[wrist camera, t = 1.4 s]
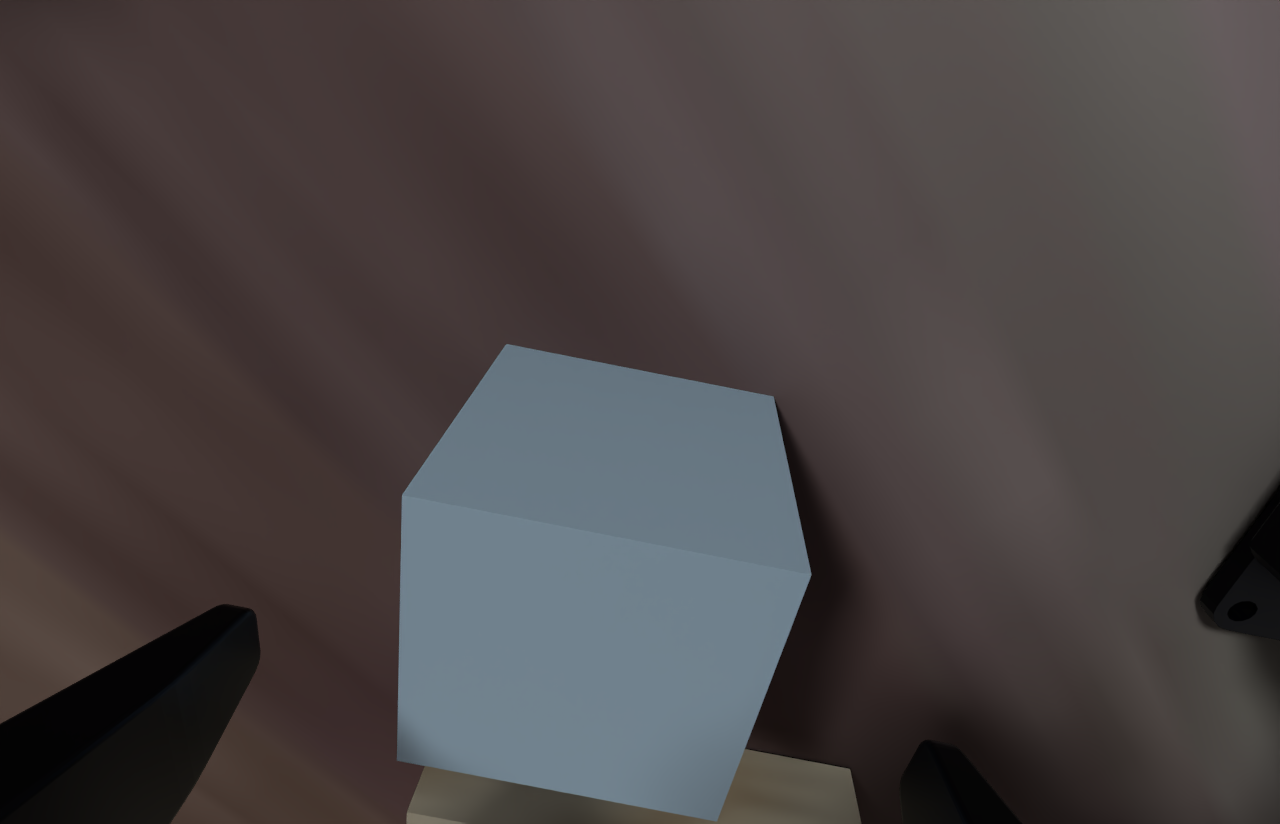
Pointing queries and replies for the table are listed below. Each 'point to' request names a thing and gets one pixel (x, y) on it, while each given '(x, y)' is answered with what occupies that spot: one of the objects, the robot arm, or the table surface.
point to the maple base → (551, 820)
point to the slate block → (597, 583)
